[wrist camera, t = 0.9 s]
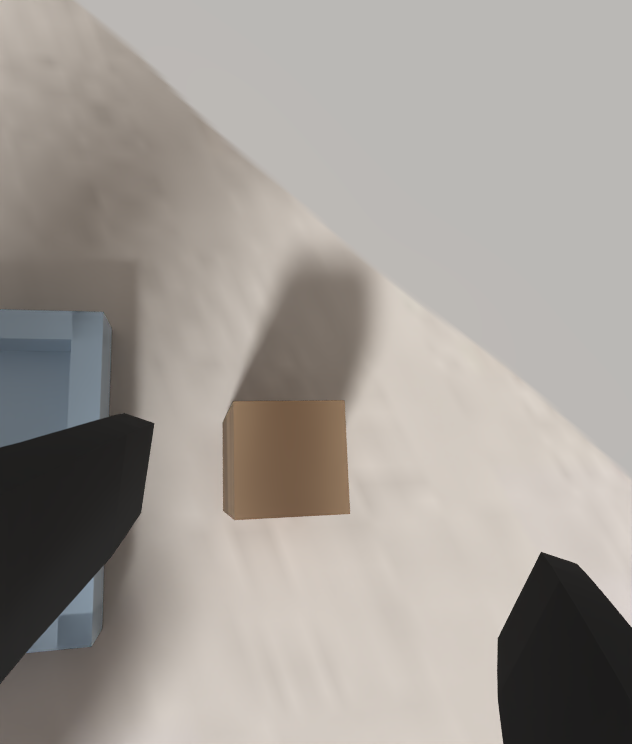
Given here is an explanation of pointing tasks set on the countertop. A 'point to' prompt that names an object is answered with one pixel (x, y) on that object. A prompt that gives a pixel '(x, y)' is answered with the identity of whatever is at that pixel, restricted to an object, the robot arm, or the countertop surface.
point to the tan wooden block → (285, 459)
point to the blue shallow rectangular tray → (56, 416)
